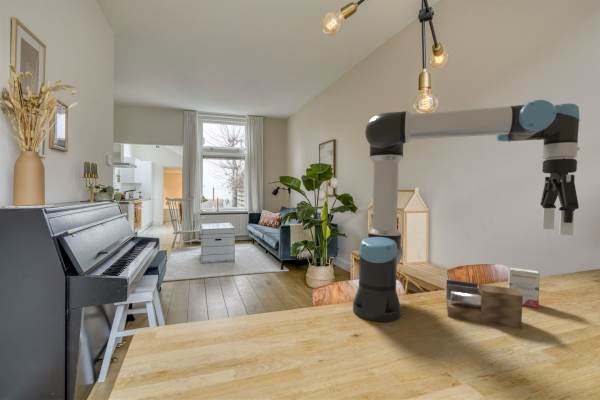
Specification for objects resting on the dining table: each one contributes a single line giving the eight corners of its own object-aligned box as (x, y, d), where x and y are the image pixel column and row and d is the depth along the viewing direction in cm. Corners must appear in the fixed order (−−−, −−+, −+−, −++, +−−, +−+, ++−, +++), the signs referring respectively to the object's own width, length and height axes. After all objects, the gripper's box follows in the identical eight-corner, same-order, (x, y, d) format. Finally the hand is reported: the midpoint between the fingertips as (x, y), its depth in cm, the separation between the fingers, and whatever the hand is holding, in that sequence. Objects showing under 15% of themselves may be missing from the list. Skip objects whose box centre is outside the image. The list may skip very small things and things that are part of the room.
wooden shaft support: (447, 316, 92) (448, 286, 92) (446, 308, 99) (447, 280, 98) (521, 328, 85) (522, 296, 84) (514, 319, 91) (516, 288, 91)
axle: (451, 305, 93) (451, 293, 93) (450, 301, 97) (450, 289, 97) (520, 316, 86) (520, 302, 86) (516, 311, 90) (517, 298, 89)
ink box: (536, 303, 104) (538, 270, 104) (538, 308, 100) (540, 273, 100) (507, 298, 109) (508, 266, 109) (507, 302, 105) (509, 269, 104)
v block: (447, 301, 105) (447, 284, 105) (446, 295, 111) (446, 279, 111) (479, 306, 101) (480, 289, 101) (476, 299, 107) (477, 283, 107)
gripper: (598, 153, 73) (594, 238, 73) (559, 162, 95) (556, 227, 96) (560, 154, 76) (556, 236, 76) (530, 163, 98) (527, 226, 99)
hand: (556, 231), depth 86 cm, fingers open, 13 cm apart
